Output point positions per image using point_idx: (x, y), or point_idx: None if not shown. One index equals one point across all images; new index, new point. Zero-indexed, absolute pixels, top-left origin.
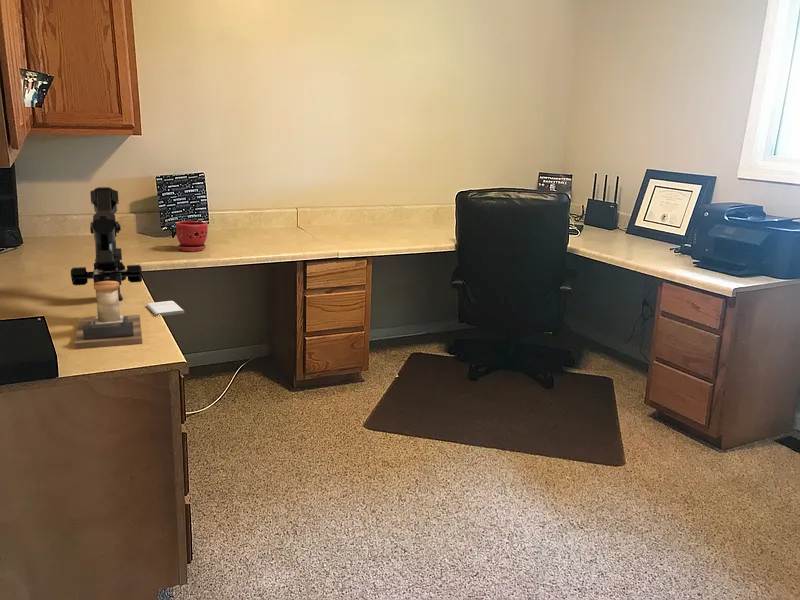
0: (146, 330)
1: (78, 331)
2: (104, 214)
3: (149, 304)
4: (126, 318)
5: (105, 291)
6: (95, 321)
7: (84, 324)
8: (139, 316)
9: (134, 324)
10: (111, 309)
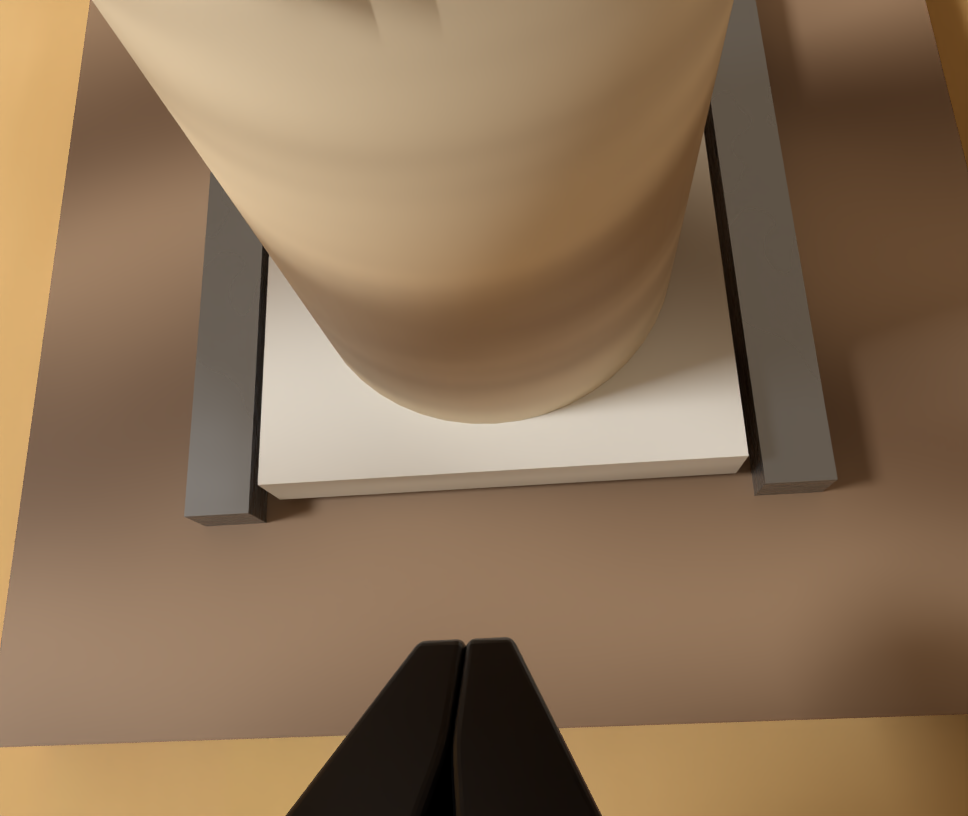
0: (47, 193)
1: (902, 1)
2: None
3: None
4: (218, 369)
5: None
6: (705, 168)
7: (898, 321)
8: (8, 629)
9: (143, 203)
10: None
